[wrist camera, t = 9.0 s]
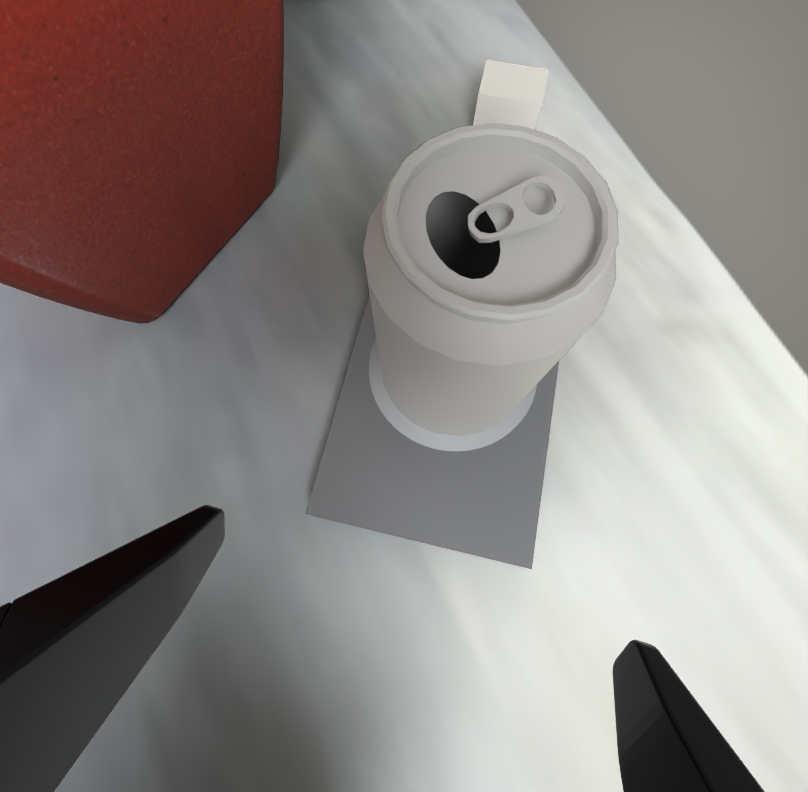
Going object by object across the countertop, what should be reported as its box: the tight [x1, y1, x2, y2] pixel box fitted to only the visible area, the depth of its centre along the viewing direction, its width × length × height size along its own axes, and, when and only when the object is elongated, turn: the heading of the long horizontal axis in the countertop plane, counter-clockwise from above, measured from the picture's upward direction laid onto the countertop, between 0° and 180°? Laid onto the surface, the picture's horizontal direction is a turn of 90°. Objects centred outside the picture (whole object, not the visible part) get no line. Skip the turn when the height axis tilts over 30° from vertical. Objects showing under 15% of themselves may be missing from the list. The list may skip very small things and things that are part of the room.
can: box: [363, 123, 618, 436], centre depth 16 cm, size 8×8×12 cm
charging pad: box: [306, 59, 559, 569], centre depth 24 cm, size 30×11×3 cm, turn 167°
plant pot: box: [0, 0, 284, 323], centre depth 19 cm, size 19×19×17 cm
